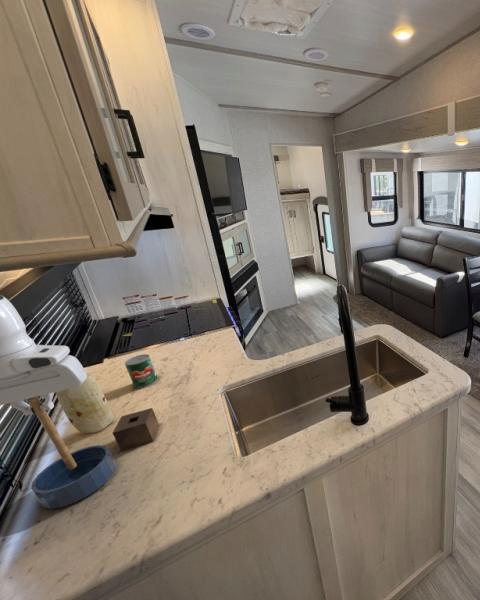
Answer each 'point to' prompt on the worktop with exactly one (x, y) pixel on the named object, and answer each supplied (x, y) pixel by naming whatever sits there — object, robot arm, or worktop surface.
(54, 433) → the stick
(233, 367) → the worktop surface
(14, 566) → the worktop surface
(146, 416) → the holder
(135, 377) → the canned tomato
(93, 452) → the bowl
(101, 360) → the worktop surface
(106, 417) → the food model
